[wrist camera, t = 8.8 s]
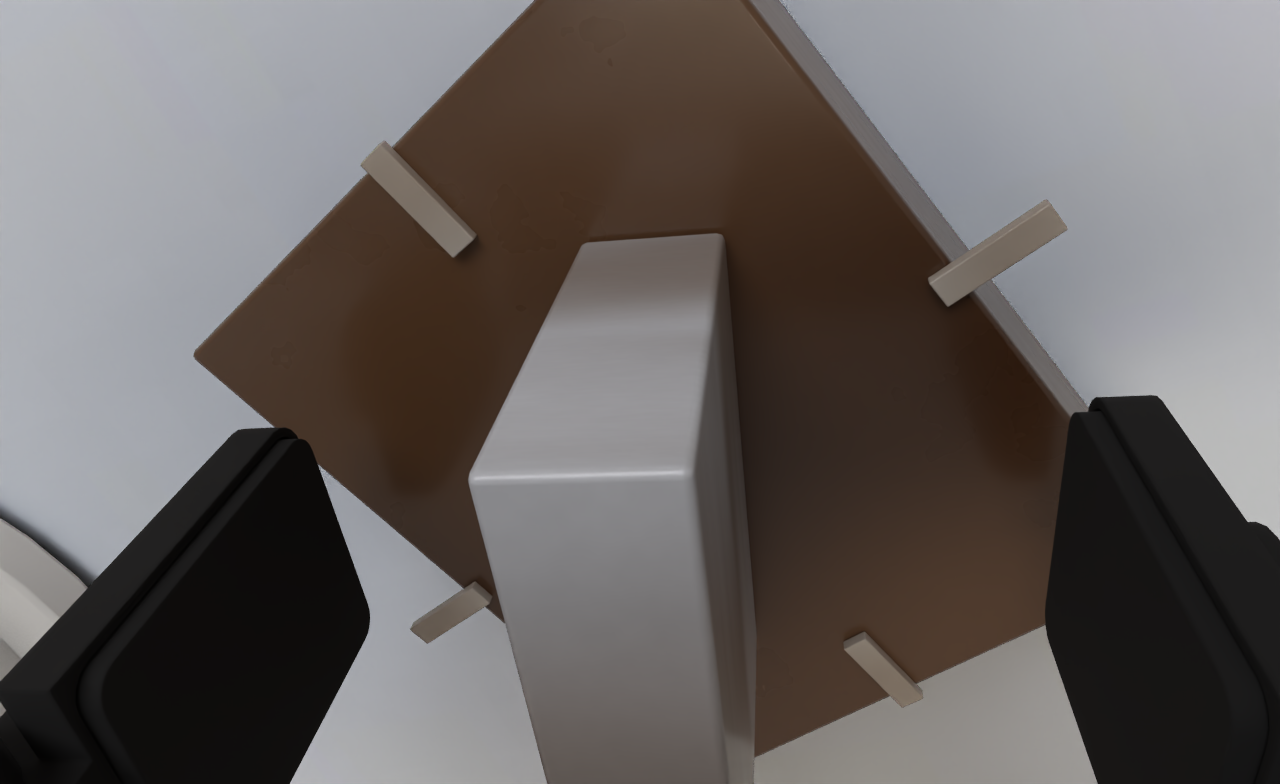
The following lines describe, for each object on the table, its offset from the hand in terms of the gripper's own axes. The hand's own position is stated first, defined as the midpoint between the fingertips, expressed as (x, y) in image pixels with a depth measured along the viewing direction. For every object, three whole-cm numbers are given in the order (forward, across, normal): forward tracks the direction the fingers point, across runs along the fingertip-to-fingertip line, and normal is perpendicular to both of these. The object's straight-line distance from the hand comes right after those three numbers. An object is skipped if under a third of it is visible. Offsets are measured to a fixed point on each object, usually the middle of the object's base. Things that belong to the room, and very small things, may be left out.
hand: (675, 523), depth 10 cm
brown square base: (+4, 0, 0) cm, 4 cm away
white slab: (+1, 0, 0) cm, 1 cm away
